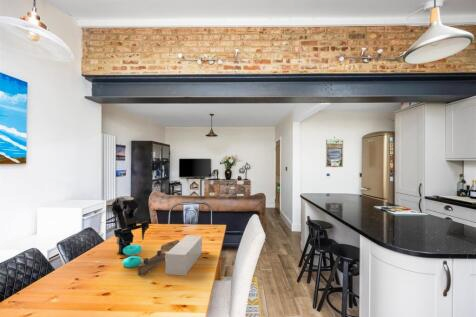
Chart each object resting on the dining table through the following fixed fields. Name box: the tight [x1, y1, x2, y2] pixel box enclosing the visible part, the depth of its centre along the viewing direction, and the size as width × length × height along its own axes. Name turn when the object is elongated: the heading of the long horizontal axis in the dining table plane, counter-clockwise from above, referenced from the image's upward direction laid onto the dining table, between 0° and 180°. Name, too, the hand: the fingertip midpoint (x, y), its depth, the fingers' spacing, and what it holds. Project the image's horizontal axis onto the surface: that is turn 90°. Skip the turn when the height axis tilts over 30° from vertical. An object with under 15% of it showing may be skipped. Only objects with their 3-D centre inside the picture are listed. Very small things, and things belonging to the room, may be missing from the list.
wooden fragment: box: [160, 239, 181, 253], centre depth 172 cm, size 26×11×1 cm, turn 166°
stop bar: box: [137, 249, 166, 276], centre depth 136 cm, size 3×20×7 cm, turn 163°
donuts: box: [122, 244, 143, 268], centre depth 139 cm, size 10×10×10 cm
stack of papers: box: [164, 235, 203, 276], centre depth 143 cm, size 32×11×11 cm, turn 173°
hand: (134, 242), depth 141 cm, fingers open, 9 cm apart
